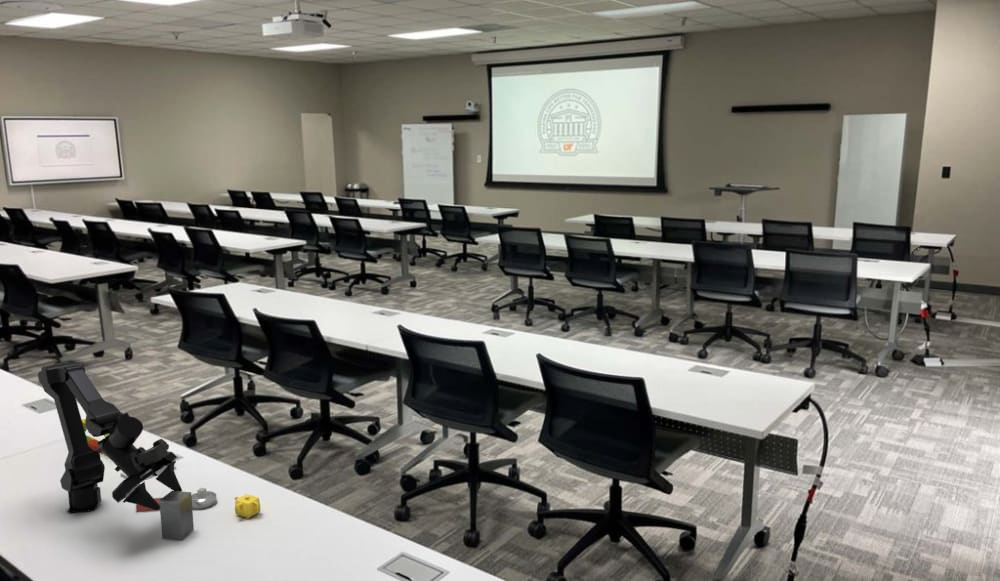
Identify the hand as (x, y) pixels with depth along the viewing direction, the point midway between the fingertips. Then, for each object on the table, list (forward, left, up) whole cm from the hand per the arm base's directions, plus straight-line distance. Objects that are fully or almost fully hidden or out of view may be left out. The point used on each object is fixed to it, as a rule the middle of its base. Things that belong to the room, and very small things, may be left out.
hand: (170, 500), depth 178 cm
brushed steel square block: (+1, 0, -9) cm, 9 cm away
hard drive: (-15, +40, -10) cm, 43 cm away
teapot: (+16, +7, -9) cm, 20 cm away
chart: (-32, +60, -9) cm, 69 cm away
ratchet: (-2, +16, -9) cm, 18 cm away
